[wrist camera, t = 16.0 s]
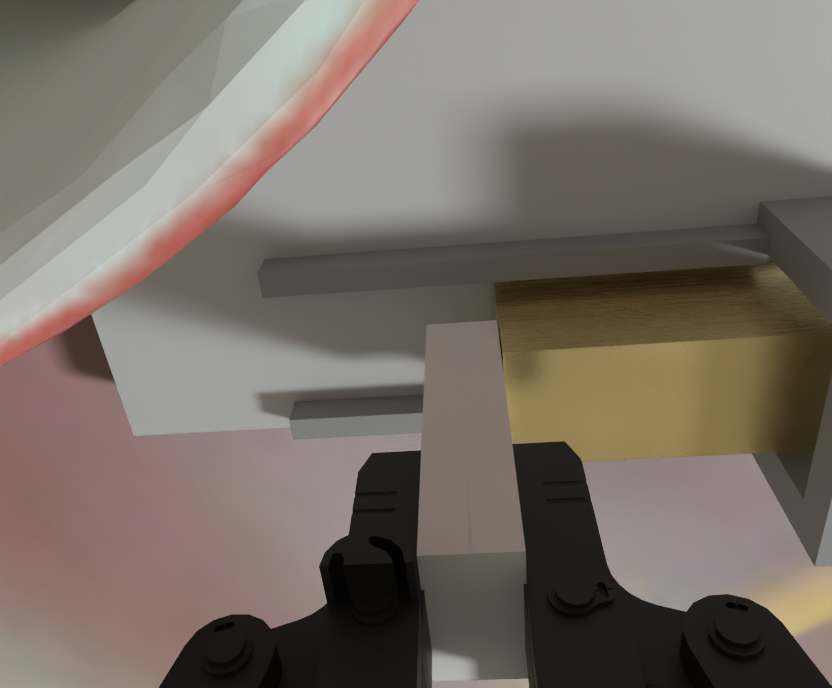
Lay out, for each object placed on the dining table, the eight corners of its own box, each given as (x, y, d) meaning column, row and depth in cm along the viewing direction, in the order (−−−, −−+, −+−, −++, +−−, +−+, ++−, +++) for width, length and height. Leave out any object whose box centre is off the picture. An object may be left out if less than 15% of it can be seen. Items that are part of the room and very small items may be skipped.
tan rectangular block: (497, 382, 19) (506, 465, 16) (493, 280, 17) (503, 352, 14) (789, 365, 18) (850, 448, 15) (808, 259, 17) (880, 329, 14)
